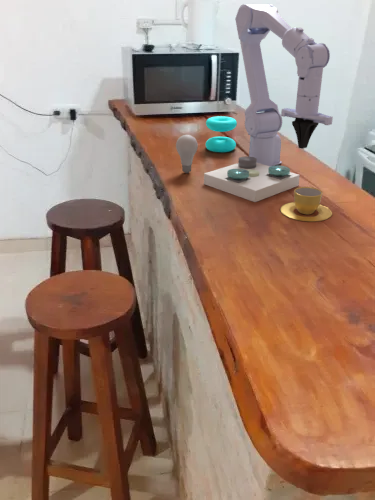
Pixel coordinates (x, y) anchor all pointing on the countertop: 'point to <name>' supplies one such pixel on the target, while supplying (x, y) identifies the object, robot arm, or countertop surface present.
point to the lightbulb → (186, 151)
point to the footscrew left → (279, 172)
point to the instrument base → (250, 180)
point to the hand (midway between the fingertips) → (302, 147)
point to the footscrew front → (238, 175)
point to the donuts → (221, 142)
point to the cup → (306, 205)
